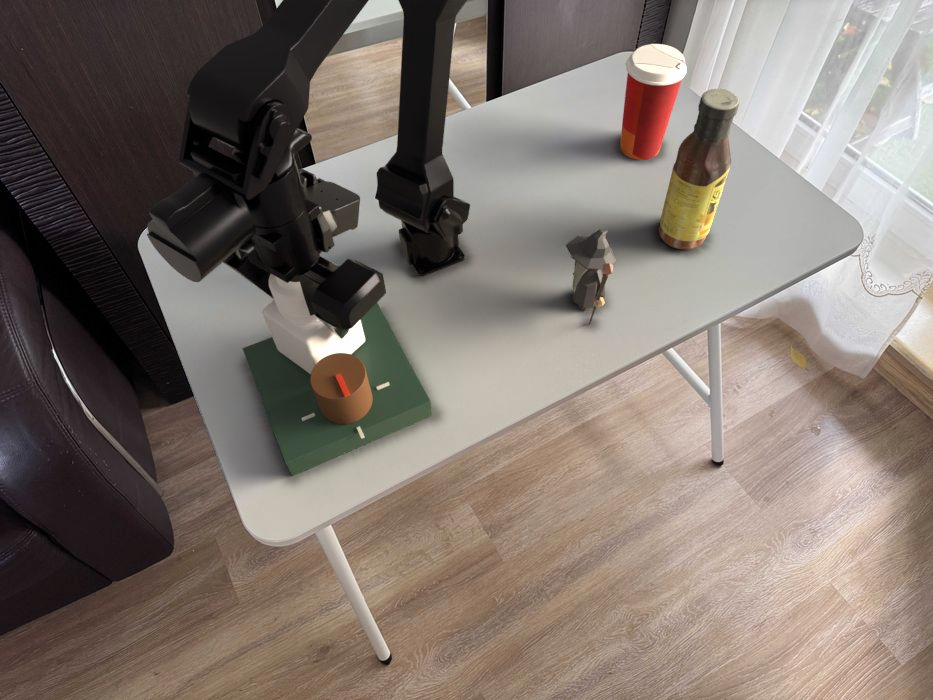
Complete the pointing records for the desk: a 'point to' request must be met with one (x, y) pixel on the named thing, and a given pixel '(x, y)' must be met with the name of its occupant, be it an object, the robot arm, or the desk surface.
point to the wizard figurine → (590, 269)
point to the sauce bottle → (699, 173)
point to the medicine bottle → (304, 324)
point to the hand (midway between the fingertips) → (310, 315)
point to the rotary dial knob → (341, 388)
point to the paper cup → (650, 98)
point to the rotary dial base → (299, 414)
